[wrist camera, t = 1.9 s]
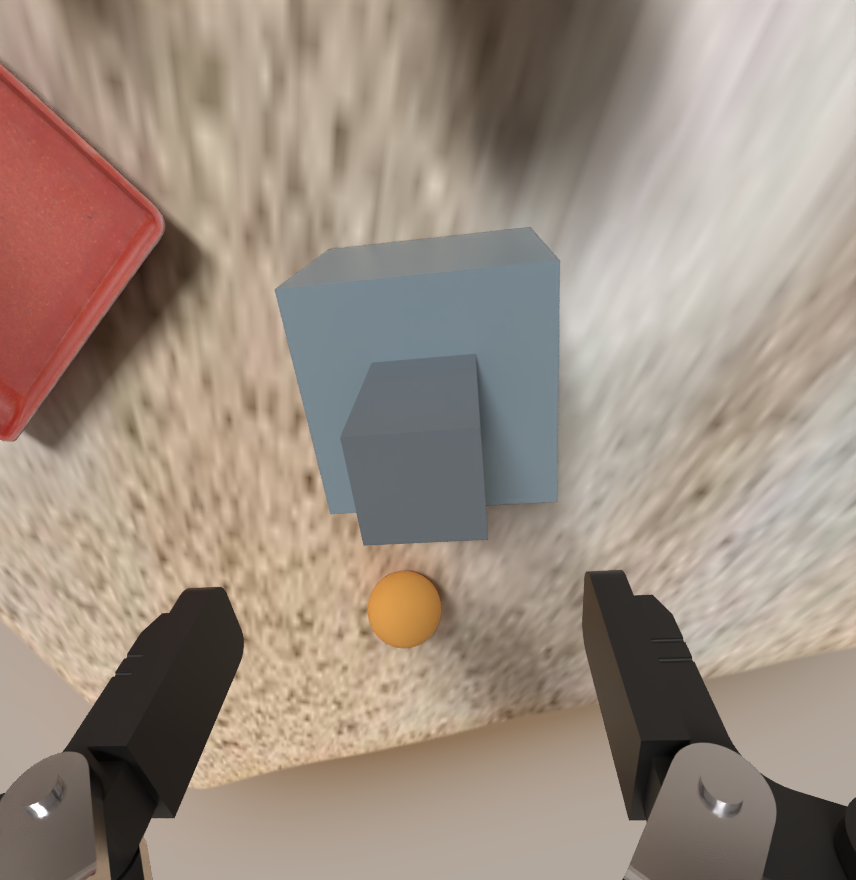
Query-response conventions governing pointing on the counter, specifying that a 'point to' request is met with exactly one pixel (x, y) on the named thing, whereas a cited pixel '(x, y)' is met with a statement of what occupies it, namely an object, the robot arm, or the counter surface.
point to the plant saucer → (57, 247)
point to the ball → (404, 609)
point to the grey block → (429, 379)
